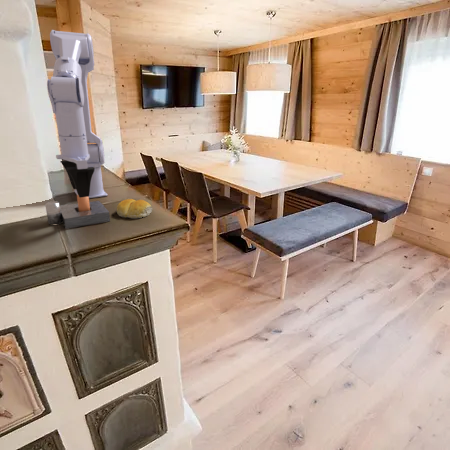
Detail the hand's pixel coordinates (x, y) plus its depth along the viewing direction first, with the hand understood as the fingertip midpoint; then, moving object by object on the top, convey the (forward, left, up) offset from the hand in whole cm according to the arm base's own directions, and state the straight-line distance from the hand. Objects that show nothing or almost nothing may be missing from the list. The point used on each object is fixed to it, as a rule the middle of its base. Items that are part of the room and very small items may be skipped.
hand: (80, 192), depth 75 cm
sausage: (0, 0, -7) cm, 7 cm away
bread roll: (+2, +12, -7) cm, 14 cm away
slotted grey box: (0, -2, -7) cm, 7 cm away
